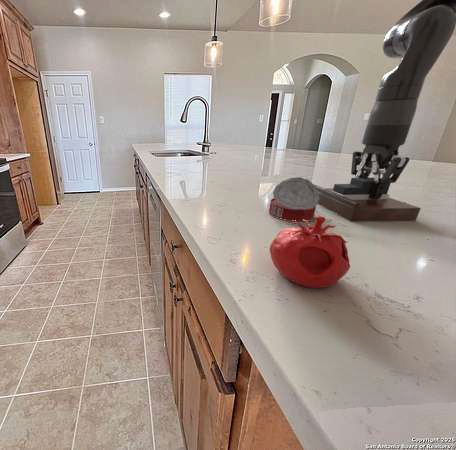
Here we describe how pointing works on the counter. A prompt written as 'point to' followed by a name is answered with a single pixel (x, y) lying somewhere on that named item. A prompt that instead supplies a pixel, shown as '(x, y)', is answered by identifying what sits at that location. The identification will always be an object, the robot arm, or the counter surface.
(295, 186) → the canned food
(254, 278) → the counter surface
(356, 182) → the stepped dark block
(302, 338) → the counter surface
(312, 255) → the pomegranate
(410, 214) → the brown flat slab
